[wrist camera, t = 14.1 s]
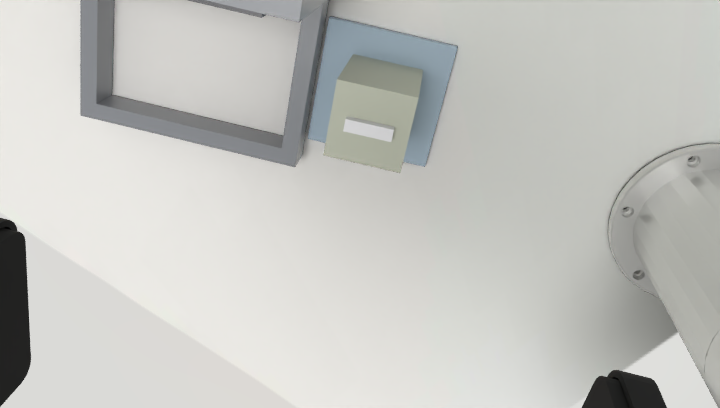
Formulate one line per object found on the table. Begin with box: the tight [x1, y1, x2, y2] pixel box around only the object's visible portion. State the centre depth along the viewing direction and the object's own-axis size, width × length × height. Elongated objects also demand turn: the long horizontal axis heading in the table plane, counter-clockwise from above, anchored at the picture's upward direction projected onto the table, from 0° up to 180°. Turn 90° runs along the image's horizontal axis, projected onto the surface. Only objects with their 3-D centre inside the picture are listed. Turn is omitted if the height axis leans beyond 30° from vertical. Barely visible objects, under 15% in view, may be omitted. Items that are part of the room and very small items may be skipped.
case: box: [81, 0, 329, 167], centre depth 39 cm, size 19×14×15 cm
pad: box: [308, 16, 457, 167], centre depth 45 cm, size 9×9×1 cm
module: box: [323, 54, 423, 173], centre depth 41 cm, size 5×5×8 cm
